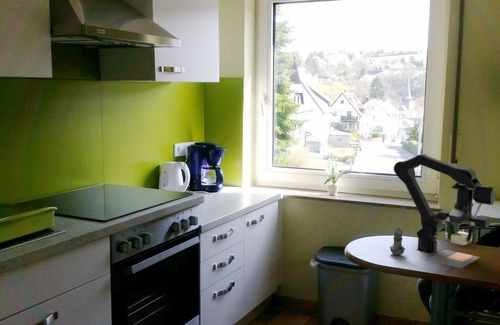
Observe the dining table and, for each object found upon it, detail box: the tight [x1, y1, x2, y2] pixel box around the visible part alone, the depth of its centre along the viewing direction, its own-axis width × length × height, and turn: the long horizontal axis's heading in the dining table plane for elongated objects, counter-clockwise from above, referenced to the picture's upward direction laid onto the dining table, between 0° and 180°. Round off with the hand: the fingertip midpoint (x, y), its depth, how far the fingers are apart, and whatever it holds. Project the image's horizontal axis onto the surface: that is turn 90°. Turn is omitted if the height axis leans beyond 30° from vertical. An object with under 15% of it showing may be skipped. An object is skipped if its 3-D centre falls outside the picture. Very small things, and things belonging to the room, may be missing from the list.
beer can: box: [444, 223, 460, 242], centre depth 229 cm, size 5×5×12 cm
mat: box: [424, 249, 481, 269], centre depth 202 cm, size 14×18×1 cm
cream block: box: [450, 230, 473, 246], centre depth 203 cm, size 8×5×3 cm, turn 136°
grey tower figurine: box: [389, 226, 406, 257], centre depth 204 cm, size 6×6×12 cm
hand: (461, 240), depth 203 cm, fingers closed on cream block, 5 cm apart
